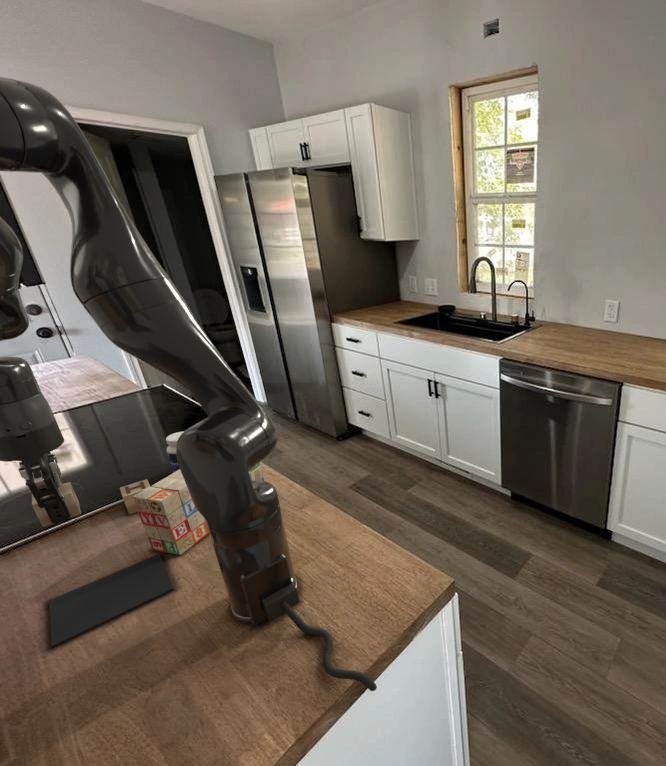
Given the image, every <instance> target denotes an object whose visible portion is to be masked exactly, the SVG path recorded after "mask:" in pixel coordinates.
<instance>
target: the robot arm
mask: <svg viewBox="0 0 666 766" xmlns="http://www.w3.org/2000/svg"><path fill="white" fill-rule="evenodd" d="M88 141H89V140H87V138H86V136H85V134H84V132H83V131H82V129H81V128H80V125H79V124H78V123H77V121H76V119H75V118H74V117H73V115H72V114H71V113H70V111H69V110H68V109H67V107H66V106H64V104H63V103H62V102H61V101H60V100H59V99H58V98H57V97H56V96H55V95H54V94H52V93H51V92H50V91H48V90H46V89H45V88H43V87H41V86H39V85H36V84H33V83H30V82H28V81H23V80H19V79H13V78H8V77H3V76H0V172H8V173H27V174H28V173H30V174H31V173H32V174H42V175H43V176H44V177H45V178H46V179H47V181H48V182H49V183H50V184H51V186H52V187H53V189H54V190H55V192H56V193H57V194H58V196H59V198H60V200H61V201H62V204H63V205H64V207H65V209H66V211H67V213H68V216H69V219H70V223H71V247H70V258H69V259H70V260H69V278H70V283H71V287H72V291H73V293H74V295H75V297H76V298H77V300H78V302H79V303H80V304H81V306H82V307H83V308H84V310H85V311H86V313H87V314H88V315H89V316H90V318H91V319H92V321H93V322H94V323H95V324H96V325H97V327H98V329H100V331H101V332H102V334H103V335H104V336H105V337H106V338H107V339H108V340H109V341H110V342H111V344H113V345H114V346H115V347H117V348H118V349H120V350H121V351H123V352H124V353H126V354H127V355H129V356H130V357H132V358H134V359H136V360H137V361H139V362H141V363H143V364H145V365H147V366H149V367H151V368H153V369H155V370H157V371H159V372H161V373H163V374H164V375H166V376H168V377H170V378H172V379H173V380H175V381H176V382H177V383H179V384H180V385H181V386H182V387H184V389H186V390H187V391H188V392H189V393H190V394H191V395H192V397H193V398H194V399H195V400H196V401H197V403H198V404H199V406H200V407H201V408H202V409H203V411H204V412H205V414H206V415H207V417H206V418H204V419H202V420H200V421H198V422H197V423H195V424H194V425H192V426H190V427H188V428H187V429H186V430H184V432H183V431H182V432H183V433H182V434H181V435H180V436H179V438H178V440H177V444H176V457H177V461H178V465H179V468H180V470H181V473H182V475H183V478H184V480H185V483H186V485H187V488H188V491H189V493H190V496H191V498H192V501H193V503H194V505H195V507H196V508H197V510H198V511H199V512H200V514H201V515H202V516H203V517H204V518H205V520H206V523H207V526H208V529H209V536H210V538H211V542H212V546H213V548H214V553H215V555H216V559H217V563H218V566H219V570H220V573H221V576H222V580H223V583H224V587H225V590H226V593H227V596H228V600H229V603H230V609H231V612H232V616H234V618H235V619H236V620H238V621H240V622H244V623H252V625H253V626H254V627H257V626H259V625H260V624H262V623H264V622H265V621H267V620H268V621H271V620H272V619H274V618H275V617H277V616H279V615H280V614H283V613H285V614H286V615H287V617H288V618H289V619H290V620H291V621H292V622H293V623H294V624H295V626H296V627H297V628H298V629H299V630H300V631H302V633H305V634H306V635H309V636H315V637H320V638H322V639H323V640H324V642H325V647H324V653H323V657H322V666H323V669H324V671H325V672H326V673H327V674H328V675H329V676H331V677H333V678H336V679H342V680H353V681H358V682H360V683H361V684H363V685H364V686H365V687H366V688H367V689H368V690H369V691H370V692H375V691H376V690H377V684H376V683H375V681H374V680H373V678H371V676H368V675H367V674H366V673H364V672H361V671H359V670H358V671H357V670H348V669H347V670H346V669H341V668H336V667H335V666H333V664H332V662H331V657H332V651H333V646H334V645H333V644H334V641H333V636H332V635H331V634H330V633H329V632H328V631H327V630H326V629H323V628H317V627H312V626H310V625H308V624H307V623H306V622H305V621H303V619H302V618H301V617H300V616H299V614H297V612H296V611H295V610H294V609H293V608H292V607H294V606H296V605H297V604H299V603H300V598H299V597H300V596H299V592H298V587H299V586H298V584H299V583H298V580H297V577H296V575H295V569H294V565H293V561H292V556H291V551H290V546H289V542H288V538H287V533H286V527H285V523H284V519H283V513H282V509H281V504H280V499H279V495H278V491H277V488H276V486H274V485H273V484H272V483H270V482H268V481H265V480H264V481H257V480H254V481H251V480H250V477H249V471H250V470H252V469H253V468H254V467H255V466H256V465H258V464H259V463H260V464H261V463H262V461H264V460H265V459H266V458H267V457H268V456H269V455H270V454H271V453H273V451H274V450H275V449H276V446H277V445H278V434H277V429H276V426H275V424H274V422H273V421H272V419H271V417H270V416H269V414H268V412H267V411H266V410H265V408H263V406H262V404H260V402H259V401H258V400H257V399H256V398H255V397H254V394H252V392H251V391H250V390H249V389H248V388H247V387H246V385H245V384H244V383H243V382H242V380H241V379H240V378H239V377H238V376H237V374H236V373H235V372H234V371H233V370H232V369H231V367H230V366H229V364H228V363H227V362H226V361H225V359H224V357H223V356H222V354H221V353H220V351H219V350H218V348H217V347H216V346H215V344H214V343H213V342H212V340H211V338H209V336H208V334H207V333H206V332H205V330H204V329H203V327H202V326H201V324H200V323H199V321H198V320H197V318H196V317H195V315H194V313H193V312H192V310H191V308H190V307H189V306H188V305H189V304H187V301H186V300H185V299H184V297H183V296H182V294H181V293H180V292H179V290H178V289H177V287H176V285H175V284H174V282H173V280H172V279H171V278H170V276H169V275H168V273H167V272H166V271H165V270H164V268H163V267H162V265H161V264H160V262H159V261H158V260H157V258H156V257H155V255H154V254H153V252H152V251H151V249H150V247H149V246H148V244H147V243H146V242H145V241H146V240H144V238H143V237H142V235H141V234H140V232H139V230H138V228H137V227H136V226H135V224H134V222H133V221H132V219H131V218H130V216H129V214H128V213H127V211H126V210H125V207H124V206H123V205H122V203H121V201H120V199H119V197H118V195H117V194H116V192H115V189H114V188H113V186H112V184H111V182H110V180H109V178H108V176H107V175H106V173H105V171H104V169H103V167H102V165H101V164H100V162H99V160H98V157H97V156H96V154H95V153H94V150H93V148H92V147H91V145H90V143H89V142H88ZM23 261H24V251H23V246H22V244H21V240H20V239H19V237H18V235H17V234H16V232H15V230H14V229H13V228H12V227H11V226H10V225H9V224H8V223H7V221H6V220H5V219H4V218H3V217H2V216H1V215H0V342H4V341H10V340H13V339H16V338H18V337H20V336H22V335H23V334H25V332H26V331H27V330H28V328H29V327H30V319H29V316H28V314H27V311H26V308H25V306H24V304H23V301H22V297H21V294H20V290H19V282H20V277H21V273H22V267H23ZM64 442H65V438H64V435H63V433H62V431H61V429H60V426H59V424H58V421H57V418H56V417H55V414H54V412H53V410H52V408H51V405H50V404H49V402H48V400H47V398H46V397H45V396H44V394H43V392H42V390H41V387H40V386H39V384H38V381H37V378H36V376H35V374H34V371H33V369H32V367H31V366H30V364H29V362H28V361H27V360H26V359H24V358H22V357H20V356H19V357H18V356H8V355H7V356H6V355H5V356H0V462H8V463H9V462H18V465H19V467H18V468H17V469H18V472H19V475H20V477H21V478H22V479H24V480H25V486H26V487H27V488H28V490H29V492H30V494H31V495H32V494H33V496H34V498H35V500H36V501H37V503H38V507H40V508H45V510H46V512H47V514H48V516H49V518H50V520H51V522H52V523H54V524H59V523H62V522H65V521H68V520H70V519H71V518H70V513H69V510H68V508H67V506H66V504H65V502H64V495H62V493H61V491H60V488H59V487H60V486H61V485H62V484H64V483H63V480H62V479H61V476H62V471H61V468H60V467H59V464H58V459H57V456H56V453H54V452H53V451H55V450H57V449H58V448H60V447H61V446H62V445H63V444H64ZM51 452H53V453H51ZM51 494H54V495H53V496H50V497H47V498H44V496H48V495H51ZM54 524H53V525H54Z"/></svg>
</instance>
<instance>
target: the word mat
mask: <svg viewBox="0 0 666 766" xmlns="http://www.w3.org/2000/svg"><path fill="white" fill-rule="evenodd" d="M174 590H175V589H174V586H173V583H172V581H171V579H170V576H169V574H168V570H167V568H166V565H165V563H164V560H163V557H162V555H161V553H158V554H156V555H153V556H151V557H149V558H146V559H144V560H142V561H139V562H137V563H135V564H131V565H130V566H128V567H126V568H123V569H120V570H118V571H115V572H114V573H111V574H109V575H107V576H104V577H102V578H99V579H98V580H95V581H92V582H90V583H87V584H85V585H83V586H80V587H78V588H75V589H73V590H71V591H68V592H65V593H64V594H62V595H59V596H56V597H54V598H51V599H49V600H48V603H49V604H48V605H49V607H48V609H49V626H50V643H51V644H50V646H51V648H52V649H53V648H55V647H58V646H61V645H62V644H64V643H66V642H68V641H70V640H72V639H74V638H77V637H78V636H81V635H83V634H84V633H87V632H89V631H91V630H93V629H95V628H97V627H100V626H102V625H103V624H105V623H108V622H110V621H112V620H114V619H116V618H118V617H121V616H122V615H125V614H126V613H128V612H130V611H133V610H135V609H137V608H139V607H141V606H144V605H146V604H147V603H149V602H151V601H154V600H156V599H158V598H160V597H162V596H164V595H166V594H168V593H171V592H172V591H174Z"/></svg>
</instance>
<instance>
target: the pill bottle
mask: <svg viewBox="0 0 666 766" xmlns="http://www.w3.org/2000/svg"><path fill="white" fill-rule="evenodd" d="M184 431H185V430H184ZM184 431H183V430H182V431H177V432H173V433H170V434H168V436H166V438H165V442H166V444H167V445H168V446H167V447H166V453H167V457H168V460H169V463H170V466H171V470H172V473H174V472H176V471H177V470H179V469H180V468H179V465H178V461H177V457H176V444H177V440H178V438H179V436H180V435H181V434H182V433H183V432H184Z"/></svg>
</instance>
